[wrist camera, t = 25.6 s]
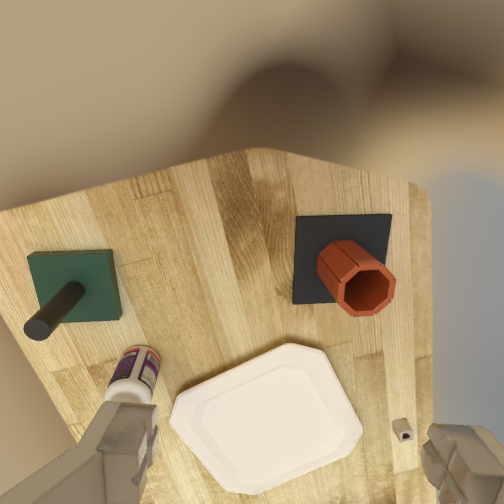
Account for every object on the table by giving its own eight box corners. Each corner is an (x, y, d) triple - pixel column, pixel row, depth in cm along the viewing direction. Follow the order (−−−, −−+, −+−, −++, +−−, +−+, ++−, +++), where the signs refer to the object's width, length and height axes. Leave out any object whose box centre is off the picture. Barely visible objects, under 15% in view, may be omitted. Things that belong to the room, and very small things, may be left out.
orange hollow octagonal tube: (318, 241, 40) (340, 265, 33) (366, 238, 40) (399, 262, 33) (315, 285, 42) (335, 318, 35) (361, 283, 43) (390, 314, 35)
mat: (296, 216, 39) (297, 217, 39) (390, 213, 40) (392, 214, 40) (292, 302, 43) (293, 304, 43) (377, 298, 44) (379, 300, 44)
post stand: (33, 251, 38) (-29, 290, 29) (111, 249, 39) (76, 286, 29) (50, 317, 41) (-1, 371, 32) (122, 314, 42) (93, 365, 32)
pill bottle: (118, 372, 45) (92, 433, 36) (124, 341, 43) (98, 396, 34) (157, 378, 46) (141, 439, 37) (164, 348, 44) (149, 403, 35)
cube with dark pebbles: (393, 430, 54) (401, 443, 51) (392, 421, 53) (400, 434, 51) (405, 427, 54) (414, 440, 51) (405, 418, 53) (413, 431, 51)
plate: (156, 395, 47) (153, 407, 45) (310, 323, 45) (314, 332, 43) (235, 491, 55) (235, 505, 53) (366, 434, 53) (372, 446, 51)
